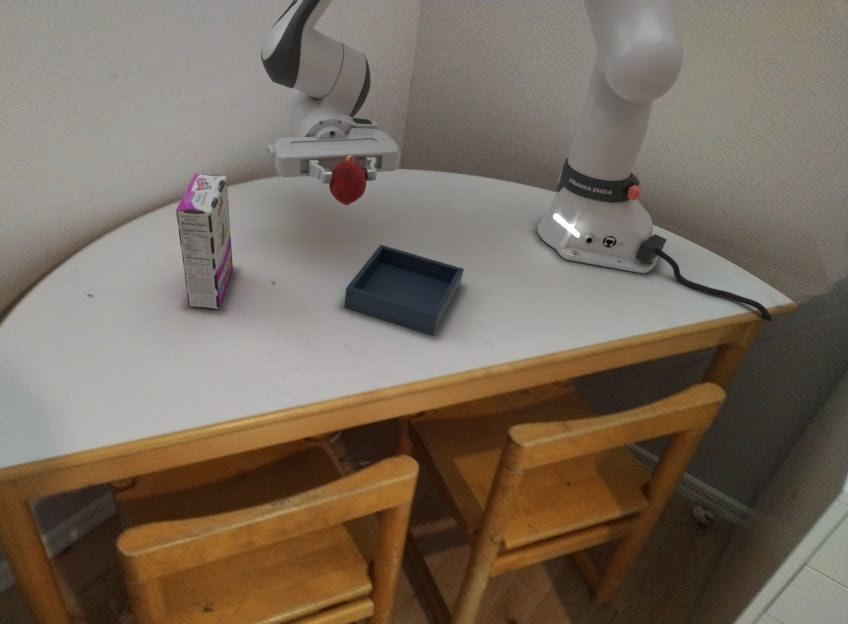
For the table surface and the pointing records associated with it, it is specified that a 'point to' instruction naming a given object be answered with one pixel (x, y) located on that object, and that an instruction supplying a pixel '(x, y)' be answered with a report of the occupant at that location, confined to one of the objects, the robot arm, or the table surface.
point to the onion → (348, 181)
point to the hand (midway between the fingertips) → (350, 177)
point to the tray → (404, 289)
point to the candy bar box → (205, 240)
